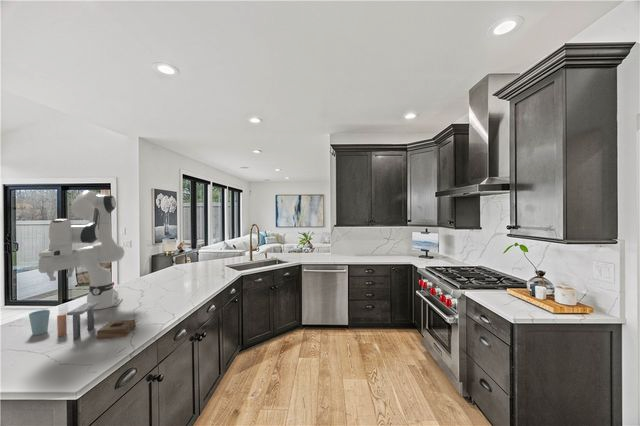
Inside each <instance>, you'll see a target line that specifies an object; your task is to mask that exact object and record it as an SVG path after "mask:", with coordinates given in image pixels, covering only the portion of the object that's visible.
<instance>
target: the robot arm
mask: <svg viewBox="0 0 640 426" xmlns="http://www.w3.org/2000/svg"><path fill="white" fill-rule="evenodd" d="M116 206H117V200H116V198H115V197H114V196H113V195H112V194H96V193H95V192H94V191H92V190H84V191H81V192H79V194H78V195H77V196H76V197H75V198H74V200H73V201H72V203H71V206H70V211H71V213H72V215H74V216H75V217H77V218H79V219H82V220H88V223H87V224H73V225H72V222H71V219H70V218H57V219H56V218H55V219H52V220H51V221H50V222H49V227H48V240H49V243H48V248H47V249H45V250H42V251H40V252H39V253H38V257H39V260H38V272H39V273H40V274H46V275H47V276H48V278H49V282H54V281H57V276H54V274H55V272H57V271H58V272H59V271H63V270H68V272H67V273H66V278H72V277H73V273H74V271H75V268H78V267H80V266H82V267H83V268H84V269H86V270H87V271H86V272H87V273H88V276H89V277H88V278H89V288H88V290H89V291H88V294H87V295H86V303H95V302H98V305H97V306H95V307H94V311H95V310H102V309H103V310H104V309H107V308H111V307H115V306H119V304H120V303H121V302H122V301H123V297H119V292H118V290H117V289H115V288H114V285H115V282H114V281H113V282H112V272H111V270H109V269H108V268H105V267H102V266H101V265H100V264H101V263H102V264H103V263H113V262H118V261H121V260H122V259H123V258H124V257H125V250H124V248H123V246H121V245H120V244H118V243H116V241H115V240H114V239H113V235H112V219H111V218H112V217H111V213H112V212H113V211H114V210H115V208H116ZM95 242H99V243H100V244H101V245H92V246H85V247H80V248H77V249H73V244H93V243H95Z"/></svg>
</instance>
